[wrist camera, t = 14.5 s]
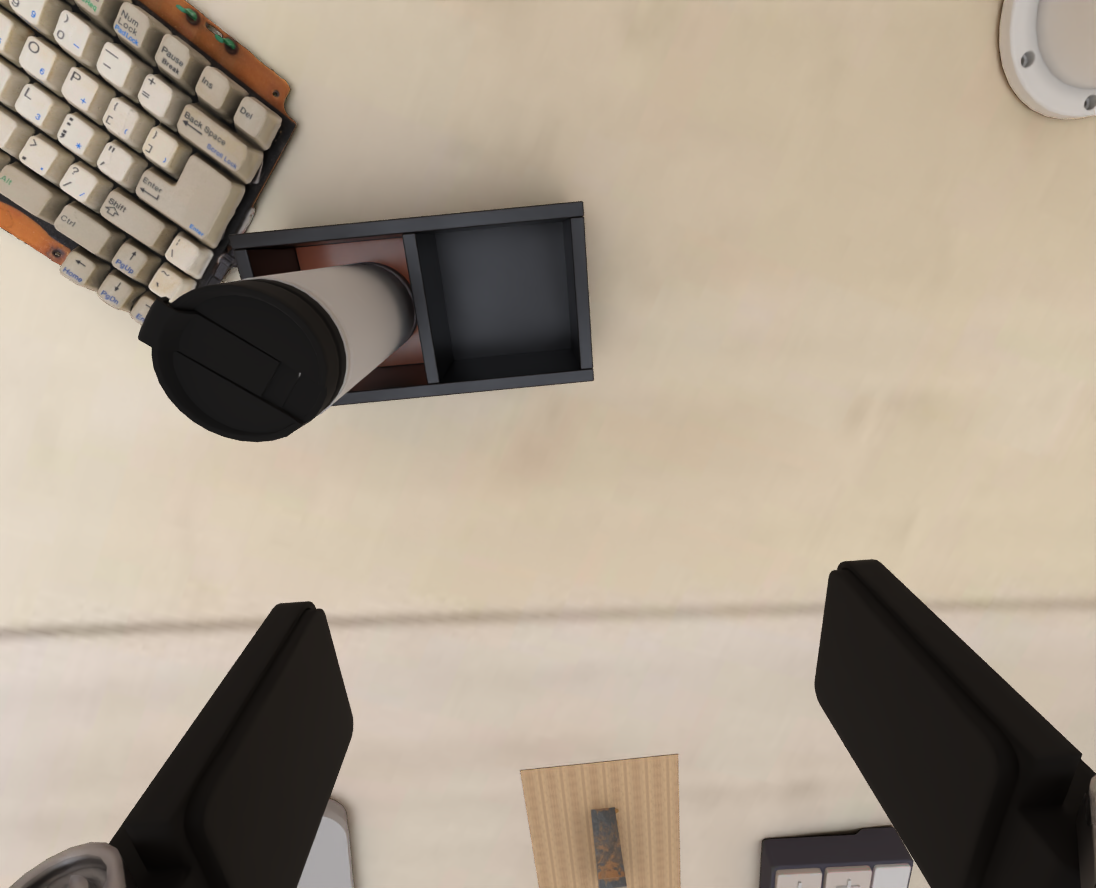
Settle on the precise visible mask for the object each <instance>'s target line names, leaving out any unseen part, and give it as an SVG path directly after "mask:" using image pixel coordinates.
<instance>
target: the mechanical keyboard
mask: <svg viewBox="0 0 1096 888" xmlns="http://www.w3.org/2000/svg"><path fill="white" fill-rule="evenodd" d="M208 25H211V26H213V27H214V28H216V29H217V30H218V31H219V32H220V33H221V34H222V38H221V37H220V36H219V35H217V34H216V35H215V34H214V33H212V32H211V31H209V30H208V29H207V26H208ZM289 91H290V87H289V85H288V84H287V82H286V80H284V79H281V78H280V77H279V76H278V75H277V74H276V73H275V72H274V71H273V70H271V69H269V68H268V67H266V66H265V65H264V64H263V63H262V62H260V61H259V60H258V59H257V58H256V57H255V56H254V55H253V54H252V53H251V52H250V51H248V50H247V49H246V48H245V47H243V46H242V45H240V44H239V43H238V42H237V41H235V40H234V39H233V38H232V37H230V36H229V35H228V34H227V33H225V32H224V31H222V30H221V29H220V28H219V27H218V26H216V25H215V24H214V23H213V22H212V21H210V20H209V19H208V18H206V17H205V16H204V15H203V14H202V13H200V12H199V11H198V10H197V9H195V8H194V7H193V6H191V5H190V4H189V3H187V2H186V1H185V0H0V227H1V228H2V229H4V230H5V231H7V232H8V233H10V234H13V235H14V236H15V237H17V238H18V239H20V240H22V241H24V242H25V243H26V244H28V245H30V246H31V247H33V248H34V249H36V250H37V251H39V252H40V253H42V254H44V255H45V256H47V257H48V258H49V259H51V260H52V261H53V262H55V263H57V264H59V265H61V266H60V269H59V270H60V273H61V274H62V275H63V276H64V277H66V278H68V279H70V280H71V281H72V282H74V283H75V284H77V285H79V286H83V287H86V288H87V289H90V290H93V291H96V292H97V295H98V297H99V298H100V299H101V300H103V301H104V302H105V303H107V304H108V305H110V306H111V307H113V308H116V309H119V310H123V311H126V312H129V313H130V316H131V318H132V319H134V320H135V321H136V322H138V323H139V324H140V325H142V324H143V322H144V319H145V317H146V315H147V313H148V311H149V309H150V307H151V305H152V304H153V302H154V301H155V300H156V298H159V297H165V296H166V297H168V298H169V299H170V300H169V302H168V304H167V305H169V304H170V303H172V302H173V301H174V300H176V299H177V298H178V297H180V296H181V295H183V294H185V293H187V292H189V291H191V290H193V289H197V288H200V287H204V286H207V285H214V284H220V283H221V281H222V279H223V277H224V276H225V275H226V273H227V272H228V271H229V270H230V268H232V267H237V263H236V260H235V256H234V253H233V249H232V246H231V242H230V239H229V235H232V234H242V233H244V232H245V231H246V229H247V226H248V225H250V223H251V221H252V220H251V219H252V218H253V216H254V214H255V213H254V212H255V208H254V203H255V202H256V200H257V198H258V196H259V194H260V192H261V190H262V189H263V187H264V185H265V183H266V181H267V179H268V178H269V176H270V175H271V173H272V171H273V169H274V167H275V165H276V163H277V162H278V160H279V158H280V156H281V154H282V152H283V150H284V148H285V147H286V145H287V143H288V141H289V139H290V137H291V135H292V133H293V132H294V129H295V128H296V122H295V121H293V120H292V119H291V118H290V117H289V116H288V115H287V113H286V111H285V109H284V102H285V99H286V97H287V95H288V93H289ZM273 92H276V93H277V94H278V95H277V96H274V95H273ZM250 215H252V216H250ZM55 252H59V253H60V256H57V255H55Z"/></svg>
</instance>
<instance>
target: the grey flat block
mask: <svg viewBox="0 0 1096 888" xmlns="http://www.w3.org/2000/svg"><path fill="white" fill-rule="evenodd" d="M297 888H354V882H353V872H352V861H351V851H350V840H349V830H348V823H347V814H346V811H345V809H344V807H343V806H342V805H341V804H339V803H338V802H336V801H334V800H332V799H329V801H328V804H327V806H326V809H325V812H324V815H323V817H322V820H321V823H320V826H319V828H318V831H317V834H316V837H315V839H314V842H313V845H312V848H311V850H310V853H309V856H308V859H307V861H306V864H305V867H304V870H303V872H302V875H301V878H300V881H299V883H298V886H297Z"/></svg>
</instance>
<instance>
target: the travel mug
mask: <svg viewBox="0 0 1096 888" xmlns="http://www.w3.org/2000/svg"><path fill="white" fill-rule="evenodd" d="M169 300H170V299H169V298H168V297H166V296H165V297H159V298H156V300H155V301H154V302H153V304H152V305H151V307H150V309H149V311H148V313H147V315H146V317H145V319H144V322H143V324H142V326H141V329H140V332H139V336H138V339H139V340H140V341H142V342H144V343H145V344H147V345H149V346H150V347H152V361H153V367H154V370H155V373H156V375H157V378H158V381H159V383H160V385H161V386H162V388H163V390H164V391H165V393H166V395H167V396H168V398H169V399H170V400H171V401H172V402H173V403H174V404H175V406H176V407H177V408H178V409H179V410H180V411H181V412H182V413H183V414H185V415H186V416H187V417H188V418H190V419H191V420H192V421H193V422H195V423H197V424H198V425H200V426H202V427H203V428H205V429H207V430H208V431H211V432H213V433H216V434H218V435H221V436H223V437H227V438H231V439H235V440H239V441H250V442H262V441H273V440H276V439H280V438H283V437H287V436H288V435H290V434H291V433H293V432H294V431H296V430H297V429H299V428H300V427H302V426H303V425H305V424H307V423H308V422H310V421H311V420H312V419H314V418H315V417H316V416H318V415H320V414H322V413H323V412H324V411H325V410H326V409H328V408H329V407H330V406H331V405H332V404H334V403H335V402H336V401H337V400H338V399H339V398H341V397H342V396H343V395H344V394H345V393H347V392H348V391H349V390H350V389H351V388H352V387H354V386H355V385H356V384H357V383H358V382H360V381H361V380H362V379H363V378H364V377H365V376H367V375H368V374H369V373H370V372H371V371H372V370H374V369H375V368H376V367H377V366H378V365H380V364H381V363H382V362H383V361H384V360H385V359H387V358H388V357H389V356H390V355H391V354H392V353H394V352H395V351H396V350H397V349H398V348H400V347H401V346H402V345H403V344H404V343H405V342H407V341H408V339H409V338H410V337H411V336H412V334H413V332H414V330H415V328H416V326H417V321H416V315H415V309H414V303H413V297H412V292H411V286H410V284H409V282H408V281H407V280H406V279H405V278H404V277H403V276H402V275H401V274H400V273H399V272H397V271H396V270H394V269H393V268H391V267H389V266H387V265H384V264H381V263H375V262H362V263H355V264H347V265H340V266H333V267H325V268H318V269H311V270H304V271H296V272H289V273H282V274H274V275H267V276H260V277H254V278H246V279H243V280H239V281H235V282H228V283H221V284H214V285H207V286H204V287H200V288H197V289H193V290H191V291H189V292H187V293H185V294H183V295H181V296H180V297H178V298H177V299H176V300H174V301H173V302H172V303H170V304H169V305H167V304H168V302H169Z"/></svg>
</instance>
